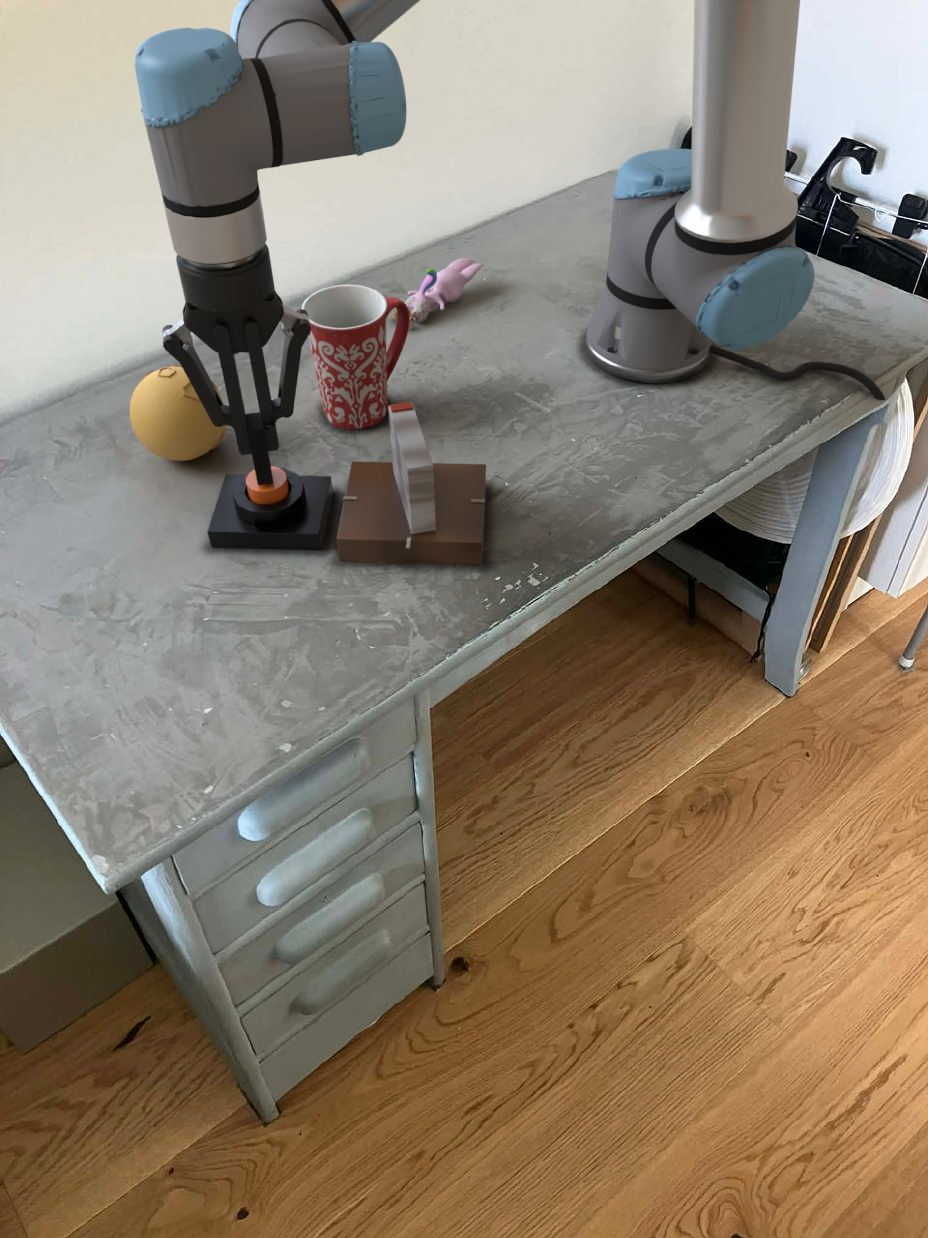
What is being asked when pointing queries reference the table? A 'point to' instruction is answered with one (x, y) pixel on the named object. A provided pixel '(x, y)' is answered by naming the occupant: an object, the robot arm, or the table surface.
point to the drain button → (268, 487)
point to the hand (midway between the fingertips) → (264, 475)
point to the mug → (354, 351)
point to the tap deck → (382, 526)
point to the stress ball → (172, 416)
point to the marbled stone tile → (412, 467)
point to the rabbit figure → (440, 288)
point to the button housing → (272, 515)
